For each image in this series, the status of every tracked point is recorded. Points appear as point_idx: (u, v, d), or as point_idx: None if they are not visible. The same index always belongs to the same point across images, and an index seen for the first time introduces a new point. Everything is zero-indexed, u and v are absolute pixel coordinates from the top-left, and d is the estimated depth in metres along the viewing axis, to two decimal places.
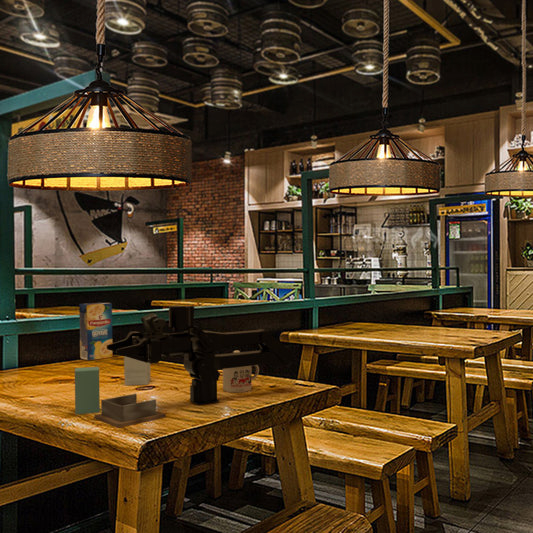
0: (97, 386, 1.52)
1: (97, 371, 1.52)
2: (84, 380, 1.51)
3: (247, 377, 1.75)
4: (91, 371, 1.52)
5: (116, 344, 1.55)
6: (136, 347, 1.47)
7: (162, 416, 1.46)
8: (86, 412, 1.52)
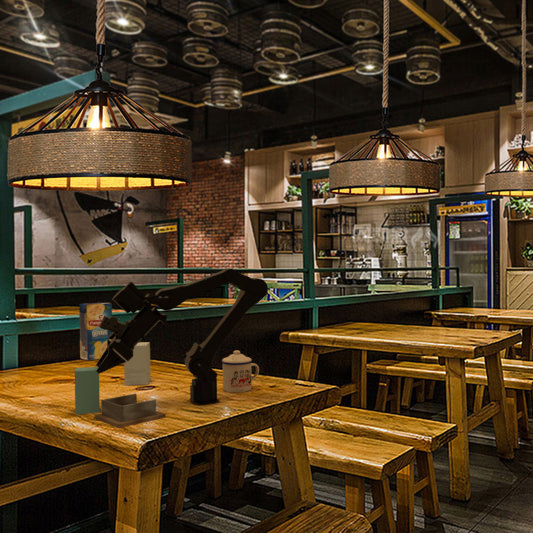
0: (97, 386, 1.52)
1: None
2: (84, 380, 1.51)
3: (247, 377, 1.75)
4: (91, 371, 1.52)
5: (102, 358, 1.59)
6: (108, 357, 1.50)
7: (162, 416, 1.46)
8: (86, 412, 1.52)
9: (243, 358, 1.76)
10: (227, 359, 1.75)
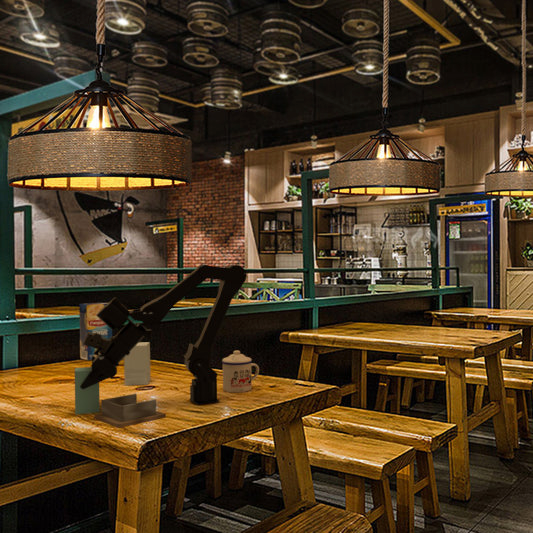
0: (97, 386, 1.52)
1: None
2: None
3: (247, 377, 1.75)
4: None
5: None
6: (92, 373, 1.50)
7: (162, 416, 1.46)
8: (86, 412, 1.52)
9: (243, 358, 1.76)
10: (227, 359, 1.75)
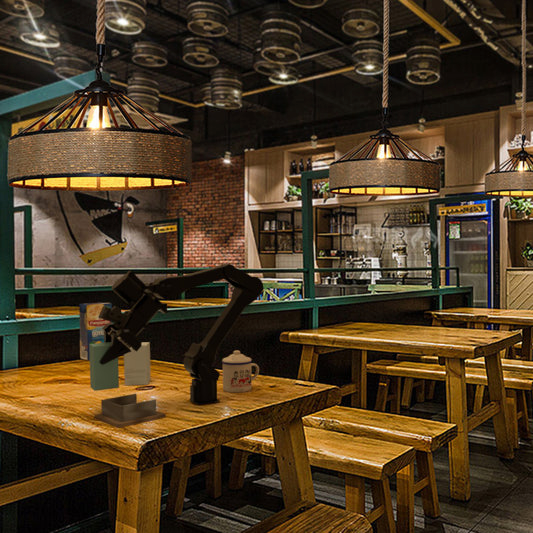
0: (116, 361, 1.49)
1: None
2: None
3: (247, 377, 1.75)
4: None
5: None
6: (112, 347, 1.47)
7: (162, 416, 1.46)
8: (105, 388, 1.48)
9: (243, 358, 1.76)
10: (227, 359, 1.75)
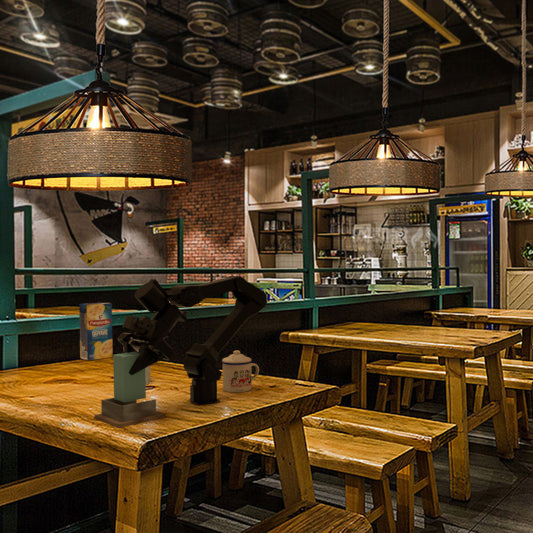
0: (143, 371, 1.47)
1: None
2: (131, 365, 1.45)
3: (247, 377, 1.75)
4: (138, 355, 1.46)
5: None
6: (142, 357, 1.45)
7: (162, 416, 1.46)
8: (134, 399, 1.45)
9: (243, 358, 1.76)
10: (227, 359, 1.75)
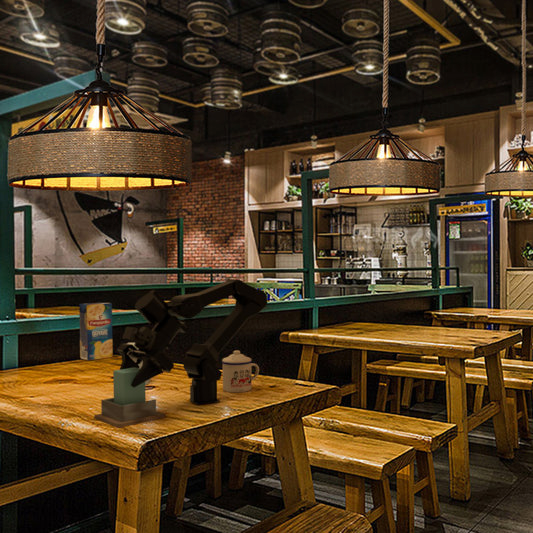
0: (143, 387, 1.47)
1: None
2: None
3: (247, 377, 1.75)
4: None
5: None
6: (145, 369, 1.44)
7: (162, 416, 1.46)
8: None
9: (243, 358, 1.76)
10: (227, 359, 1.75)
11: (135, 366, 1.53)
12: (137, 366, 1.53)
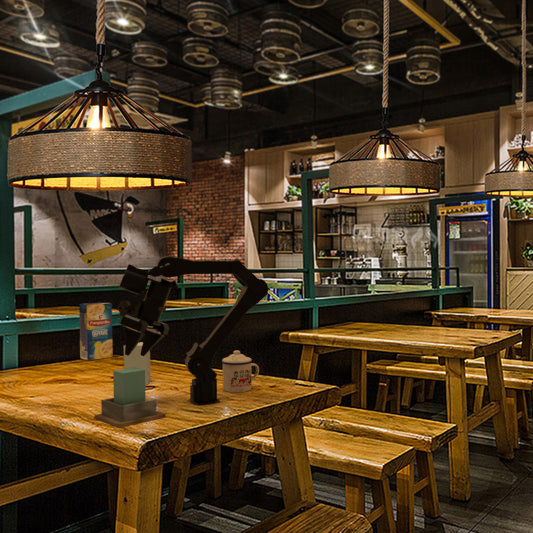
0: (143, 387, 1.47)
1: (143, 371, 1.47)
2: (132, 382, 1.45)
3: (247, 377, 1.75)
4: (138, 372, 1.46)
5: (143, 346, 1.63)
6: (127, 336, 1.53)
7: (162, 416, 1.46)
8: None
9: (243, 358, 1.76)
10: (227, 359, 1.75)
11: (156, 336, 1.63)
12: (158, 335, 1.63)
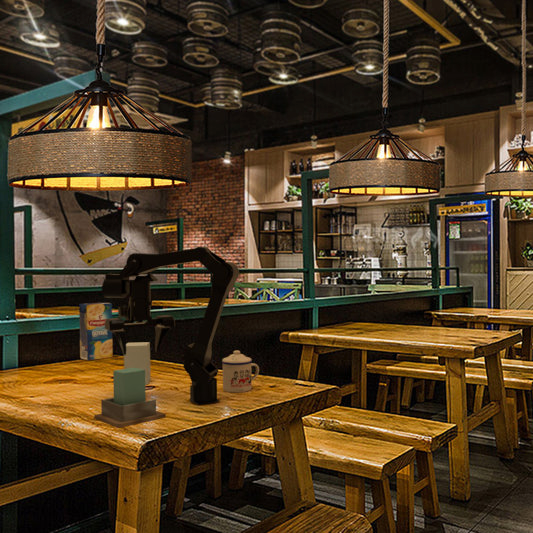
0: (143, 387, 1.47)
1: (143, 371, 1.47)
2: (132, 382, 1.45)
3: (247, 377, 1.75)
4: (138, 372, 1.46)
5: (155, 342, 1.69)
6: (117, 337, 1.64)
7: (162, 416, 1.46)
8: None
9: (243, 358, 1.76)
10: (227, 359, 1.75)
11: (159, 330, 1.67)
12: (160, 329, 1.67)
